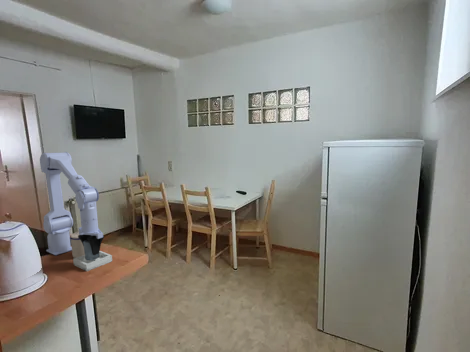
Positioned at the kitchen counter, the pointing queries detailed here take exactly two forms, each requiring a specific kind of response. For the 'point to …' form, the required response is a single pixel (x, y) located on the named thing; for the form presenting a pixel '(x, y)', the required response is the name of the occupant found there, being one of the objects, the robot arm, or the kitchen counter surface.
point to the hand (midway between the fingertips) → (92, 252)
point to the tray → (92, 261)
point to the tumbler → (89, 251)
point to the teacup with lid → (76, 245)
